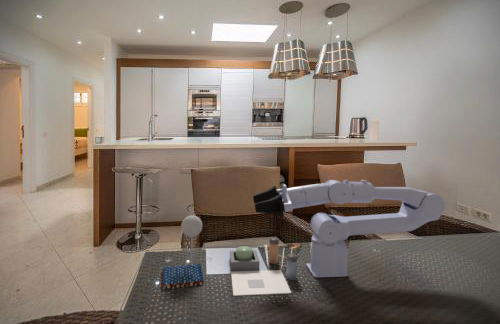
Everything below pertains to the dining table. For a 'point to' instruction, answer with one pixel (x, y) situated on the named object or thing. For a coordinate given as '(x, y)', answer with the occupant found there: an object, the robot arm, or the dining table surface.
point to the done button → (244, 253)
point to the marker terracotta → (273, 250)
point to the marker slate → (291, 266)
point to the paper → (259, 283)
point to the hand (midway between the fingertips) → (254, 203)
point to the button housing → (244, 262)
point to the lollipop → (191, 229)
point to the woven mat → (182, 276)
